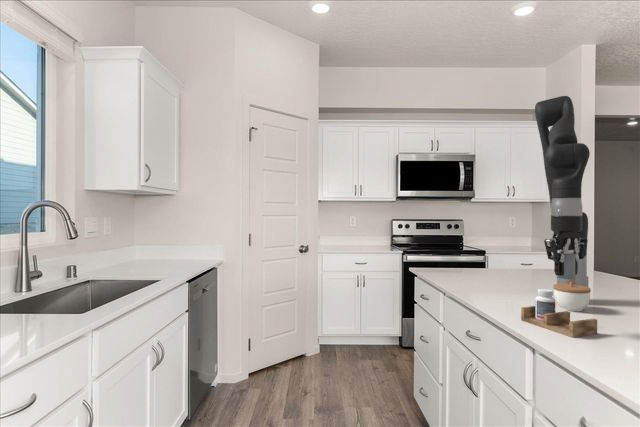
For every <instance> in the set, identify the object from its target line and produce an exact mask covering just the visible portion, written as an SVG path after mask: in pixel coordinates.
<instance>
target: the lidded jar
mask: <svg viewBox="0 0 640 427" xmlns="http://www.w3.org/2000/svg"><path fill="white" fill-rule="evenodd" d="M552 288H553V298H554V299H555V303H556V304H557V306H559V307H560V309H561V310H562V311H568V312H577V313H578V312H583V310H585V309H586V308H587V306H588V305H589V303H590V301H591V300H590V299H591V292H592V289H591V288H590V287H589V286H588V287H586V286H581V285H574V284H573V282H570V284H557V283H556V284H553V286H552Z"/></svg>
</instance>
